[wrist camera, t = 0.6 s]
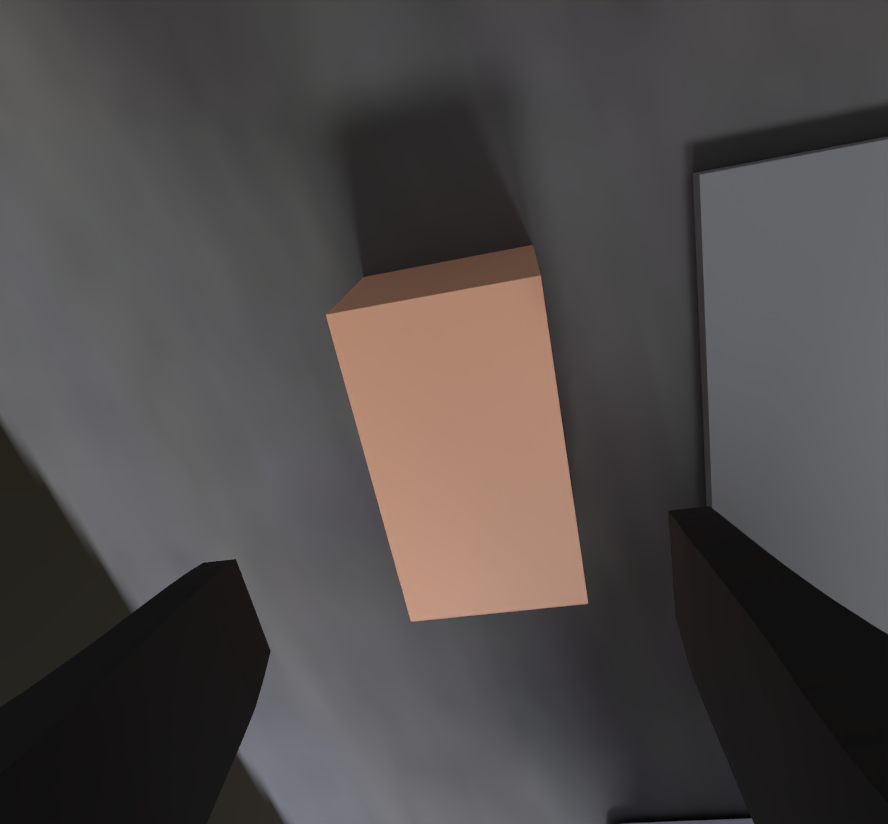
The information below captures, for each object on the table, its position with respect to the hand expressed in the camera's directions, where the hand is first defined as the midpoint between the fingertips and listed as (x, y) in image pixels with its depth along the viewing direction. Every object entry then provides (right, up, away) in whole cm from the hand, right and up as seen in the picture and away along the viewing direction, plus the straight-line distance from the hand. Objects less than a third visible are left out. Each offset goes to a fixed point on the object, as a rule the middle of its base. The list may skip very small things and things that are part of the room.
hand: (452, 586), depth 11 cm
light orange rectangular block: (+1, +3, +7) cm, 8 cm away
